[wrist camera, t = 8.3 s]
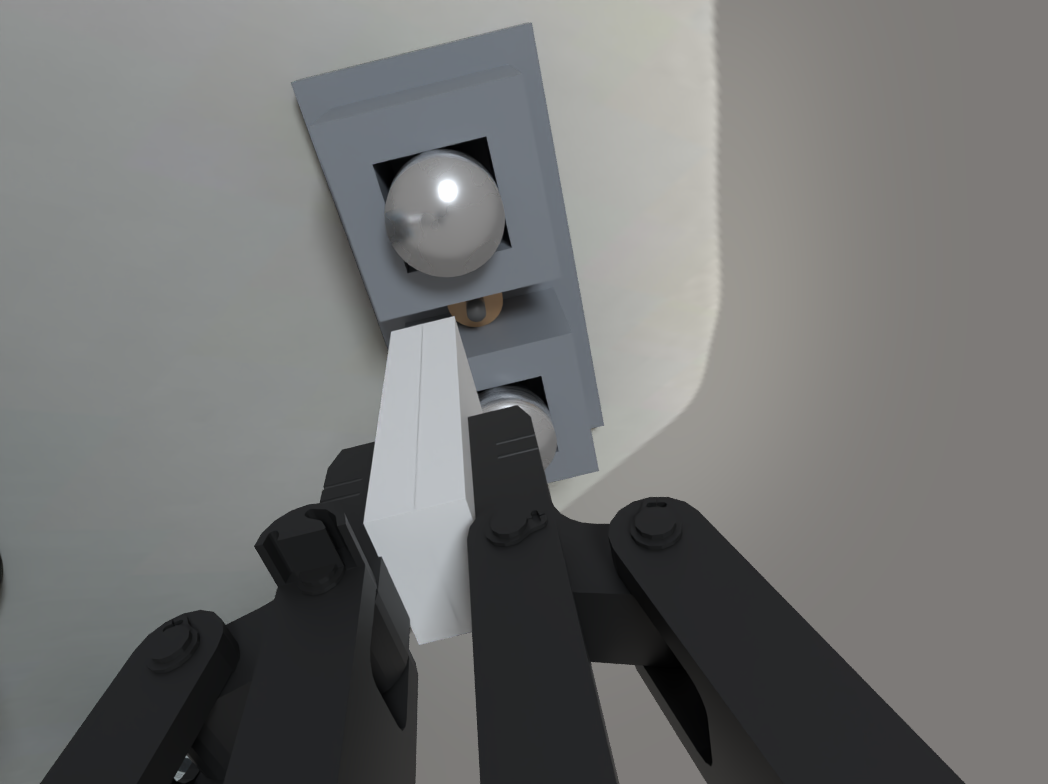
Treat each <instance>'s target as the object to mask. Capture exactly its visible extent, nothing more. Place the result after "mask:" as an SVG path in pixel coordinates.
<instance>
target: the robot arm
mask: <svg viewBox="0 0 1048 784" xmlns="http://www.w3.org/2000/svg"><path fill="white" fill-rule="evenodd" d="M254 547H255V549H256V550H257V552H258V554H259V555H260V557H261V559H262V561H263V562H264V564H265V566H266V567H267V569H268V571H269V572H270V574H271V576H272V577H273V579H274V581H275V583H276V584H277V586H278V588H277V592H276V595H275V599H274V600H273V601H271V602H269V603H268V604H266V605H264V606H263V607H261V608H259V609H257V610H255V611H253V612H251V613H249V614H247V615H245V616H243V617H241V618H239V619H237V620H235V621H233V622H231V623H229V624H227V625H225V624H224V622H223V621H222V619H221V618H220V617H219V616H217V615H216V614H215V613H214V612H211V611H204V610H198V611H193V612H189V613H184V614H182V615H180V616H178V617H176V618H173V619H171V620H169V621H167V622H165V623H164V624H163V625H161V626H160V627H159V628H157V629H156V630H155V631H153V632H152V633H151V634H149V635H148V636H147V637H146V638H145V639H144V641H143V642H142V643H141V644H140V645H139V646H138V647H137V648H136V649H135V651H134V652H133V653H132V655H131V656H130V658H129V659H128V660H127V662H126V663H125V665H124V666H123V667H122V669H121V670H120V672H119V673H118V674H117V676H116V677H115V679H114V680H113V681H112V683H111V684H110V686H109V687H108V689H107V690H106V691H105V693H104V694H103V696H102V697H101V698H100V700H99V701H98V703H97V704H96V705H95V707H94V708H93V710H92V711H91V712H90V714H89V715H88V717H87V718H86V720H85V721H84V722H83V724H82V725H81V727H80V728H79V729H78V731H77V732H76V734H75V735H74V736H73V738H72V739H71V741H70V742H69V743H68V745H67V746H66V748H65V749H64V751H63V752H62V753H61V755H60V756H59V758H58V759H57V760H56V762H55V763H54V765H53V766H52V767H51V769H50V770H49V772H48V773H47V774H46V776H45V777H44V779H43V780H42V782H41V783H40V784H415V776H416V738H417V737H416V736H417V698H418V672H417V668H416V663H415V661H414V659H413V657H412V654H411V652H410V650H409V633H410V626H411V628H412V631H413V633H414V635H415V637H416V639H417V641H418V644H419V645H421V644H425V643H429V642H434V641H438V640H442V639H446V638H450V637H454V636H458V635H462V634H466V633H471V632H472V637H473V638H472V639H473V657H474V674H475V692H476V711H477V730H478V748H479V767H480V784H619V781H618V776H617V772H616V768H615V764H614V759H613V755H612V751H611V747H610V743H609V738H608V734H607V730H606V726H605V721H604V718H603V713H602V709H601V705H600V700H599V696H598V692H597V688H596V683H595V679H594V675H593V671H592V666H591V662H601V663H614V664H629V665H635V666H636V669H637V671H638V673H639V674H640V676H641V677H642V679H643V681H644V682H645V684H646V685H647V687H648V689H649V690H650V692H651V694H652V695H653V697H654V698H655V700H656V702H657V703H658V705H659V706H660V708H661V710H662V711H663V713H664V715H665V716H666V718H667V719H668V721H669V723H670V724H671V726H672V727H673V729H674V731H675V732H676V734H677V736H678V737H679V739H680V740H681V742H682V744H683V745H684V747H685V748H686V750H687V752H688V753H689V755H690V756H691V758H692V760H693V761H694V763H695V764H696V766H697V768H698V769H699V771H700V773H701V774H702V776H703V777H704V779H705V781H706V782H707V784H965V783H964V782H963V781H962V780H961V779H960V778H959V777H958V776H957V775H956V774H955V773H954V772H953V771H952V769H950V767H948V765H946V763H945V762H944V761H942V759H941V758H940V757H939V756H938V755H937V754H936V753H935V752H934V751H933V750H932V749H931V748H930V747H929V746H928V745H927V744H926V743H925V742H924V741H923V740H922V739H921V738H920V737H919V736H918V735H917V734H916V733H915V732H914V731H913V730H912V729H911V728H910V727H909V726H908V725H907V724H906V722H904V721H903V719H902V718H901V717H900V716H899V715H898V714H897V713H896V712H894V710H893V709H892V708H891V707H890V706H889V705H888V704H887V703H886V702H885V701H884V700H883V699H882V698H881V697H880V696H879V695H878V694H877V693H876V692H875V691H874V690H873V689H872V688H871V687H870V686H869V685H868V684H867V683H866V682H865V681H864V680H863V679H862V678H861V677H860V676H859V675H858V674H857V672H856V671H855V670H854V669H852V667H851V666H850V665H849V664H848V663H847V662H846V661H845V660H844V659H843V658H842V657H841V656H840V655H839V654H838V653H837V652H836V651H835V650H834V649H833V648H832V647H831V646H830V645H829V644H828V643H827V642H826V641H825V640H824V639H823V638H822V637H821V636H820V635H819V634H818V633H817V632H816V631H815V630H814V629H813V628H812V627H811V626H810V624H809V623H808V622H807V621H806V620H805V619H804V618H803V617H802V616H801V615H800V614H799V613H798V612H797V611H796V610H795V609H794V608H793V607H792V606H791V605H790V604H789V603H788V602H787V601H786V600H785V599H784V598H783V597H782V596H781V595H780V594H779V593H778V592H777V591H776V590H775V589H774V588H773V587H772V586H771V585H770V584H769V583H768V582H767V581H766V579H764V577H763V576H761V574H760V573H759V572H758V571H757V570H756V569H755V568H754V567H753V566H752V565H751V564H750V563H749V562H748V561H747V560H746V559H745V558H744V557H743V556H742V555H741V554H740V553H739V552H738V551H737V550H736V549H735V548H734V547H733V546H732V545H731V544H730V543H729V542H728V541H727V540H726V539H725V538H724V537H723V536H722V535H721V534H720V533H719V532H718V531H717V529H716V528H715V527H713V525H712V524H711V523H710V522H709V521H708V520H707V519H706V518H705V517H704V516H703V515H702V514H701V513H700V512H699V511H698V510H696V509H695V508H693V507H692V506H690V505H689V504H688V503H686V502H684V501H680V500H677V499H673V498H670V497H649V498H645V499H642V500H638V501H634V502H632V503H630V504H629V505H627V506H626V507H624V508H622V509H621V510H619V511H618V513H617V514H616V515H615V517H614V518H613V519H612V521H611V522H610V524H591V523H581V522H578V521H575V520H572V519H569V518H568V517H566V516H564V515H562V514H561V513H560V512H559V511H558V510H557V509H556V508H555V507H554V505H553V503H552V500H551V496H550V492H549V488H548V483H547V479H546V475H545V471H544V467H543V463H542V459H541V455H540V451H539V447H538V443H537V439H536V435H535V431H534V427H533V423H532V419H531V416H530V415H529V414H527V413H526V412H525V411H524V410H523V409H521V408H520V407H519V406H518V405H515V406H511V407H507V408H503V409H499V410H495V411H490V412H486V413H483V411H482V408H481V405H480V401H479V398H478V394H477V391H476V388H475V384H474V381H473V377H472V374H471V371H470V367H469V364H468V360H467V357H466V354H465V350H464V347H463V343H462V340H461V337H460V333H459V330H458V326H457V323H456V320H455V316H453V317H449V318H444V319H440V320H436V321H432V322H428V323H424V324H420V325H416V326H412V327H408V328H404V329H400V330H396V331H392V332H391V337H390V344H389V351H388V357H387V364H386V371H385V378H384V385H383V392H382V398H381V405H380V412H379V419H378V426H377V433H376V440H375V442H372V443H368V444H364V445H360V446H356V447H352V448H348V449H343V450H342V451H341V452H340V453H339V455H338V456H337V457H336V458H335V460H334V461H333V462H332V464H331V465H330V466H329V468H328V470H327V474H326V479H325V483H324V490H323V491H322V495H321V499H320V503H318V504H309V505H306V506H303V507H300V508H297V509H295V510H292V511H290V512H288V513H287V514H285V515H283V516H282V517H280V518H278V519H277V520H275V521H274V522H273V523H272V524H271V525H270V526H269V527H268V528H267V529H266V530H265V531H264V532H263V533H262V534H261V535H260V537H259V539H258V541H257V542H256V544H255V546H254ZM0 580H1V563H0ZM186 755H187V757H188V758H189V759H190V760H191V761H192V763H191V765H190V767H189V769H188V770H187V771H186V772H185V774H184V775H183V776H182V778H181V779H180V780H178V781H176V780H175V779H174V777H175V775H176V773H177V772H178V770H179V768H180V766H181V764H182V763H183V761H184V759H185V757H186Z"/></svg>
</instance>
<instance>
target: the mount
mask: <svg viewBox="0 0 1048 784" xmlns="http://www.w3.org/2000/svg"><path fill="white" fill-rule="evenodd" d="M291 85H292V87H293V90H294V93H295V96H296V98H297V101H298V104H299V107H300V109H301V112H302V115H303V118H304V120H305V123H306V126H307V129H308V131H309V134H310V137H311V140H312V142H313V145H314V148H315V151H316V153H317V156H318V159H319V162H320V164H321V167H322V170H323V173H324V175H325V178H326V181H327V184H328V186H329V189H330V192H331V195H332V197H333V200H334V203H335V206H336V208H337V211H338V214H339V217H340V219H341V222H342V225H343V228H344V230H345V233H346V236H347V239H348V241H349V244H350V247H351V250H352V252H353V255H354V258H355V261H356V263H357V266H358V269H359V272H360V274H361V277H362V280H363V283H364V285H365V288H366V291H367V293H368V296H369V299H370V302H371V304H372V307H373V310H374V313H375V315H376V318H377V321H378V324H379V326H380V329H381V332H382V335H383V337H384V340H385V343H386V346H387V348H388V351H389V344H390V337H391V332H392V331H396V330H400V329H404V328H408V327H412V326H416V325H420V324H424V323H428V322H432V321H436V320H440V319H444V318H449V317H453V316H455V320H456V323H457V326H458V330H459V333H460V337H461V340H462V343H463V347H464V350H465V354H466V357H467V360H468V364H469V367H470V371H471V374H472V377H473V381H474V384H475V388H476V391H481V390H485V389H489V388H493V387H497V386H501V385H505V384H510V383H514V382H518V381H522V380H526V379H528V380H529V384H530V388H531V392H533V393H535V394H536V395H537V396H539V397H540V398H541V399H542V400H543V401H544V403H545V404H546V406H547V408H548V410H549V412H550V416H551V419H552V423H553V427H554V430H555V434H556V439H557V447H556V452H555V455H554V458H553V460H552V462H551V463H550V465H549V466H548V467H547V468H546V469H545V470H544V471H545V475H546V479H547V483H550V482H555V481H559V480H563V479H567V478H571V477H575V476H580V475H584V474H588V473H592V472H596V471H599V469H598V464H597V459H596V453H595V448H594V443H593V438H592V433H591V428H595V427H600V426H604V423H603V417H602V412H601V406H600V400H599V395H598V389H597V384H596V378H595V373H594V367H593V361H592V356H591V350H590V345H589V339H588V333H587V328H586V322H585V317H584V311H583V306H582V300H581V294H580V289H579V283H578V278H577V272H576V267H575V261H574V255H573V250H572V244H571V239H570V233H569V228H568V222H567V216H566V211H565V205H564V200H563V194H562V188H561V183H560V177H559V172H558V166H557V161H556V155H555V149H554V144H553V138H552V133H551V127H550V122H549V116H548V110H547V105H546V99H545V94H544V88H543V83H542V77H541V71H540V66H539V60H538V55H537V49H536V43H535V38H534V32H533V27H532V23H524V24H520V25H516V26H512V27H508V28H504V29H500V30H496V31H492V32H488V33H484V34H480V35H476V36H472V37H468V38H464V39H460V40H456V41H452V42H448V43H444V44H440V45H436V46H432V47H428V48H424V49H420V50H416V51H412V52H408V53H404V54H400V55H396V56H392V57H388V58H384V59H380V60H376V61H372V62H368V63H364V64H360V65H356V66H352V67H348V68H344V69H340V70H336V71H332V72H328V73H324V74H320V75H316V76H311V77H307V78H303V79H299V80H296V81H294V82H291ZM449 145H456V146H458V147H460V148H462V149H463V150H465V151H466V152H467V153H468V154H469V155H470V156H471V157H473V158H475V159H476V160H477V161H479V162H480V163H481V164H482V165H483V166H484V167H485V168H486V169H487V170H488V171H489V173H490V174H491V176H492V177H493V179H494V181H495V183H496V185H497V187H498V190H499V193H500V196H501V199H502V203H503V206H504V212H505V226H504V232H503V236H502V239H501V241H500V244H499V246H498V248H497V250H496V251H495V252H494V254H493V255H492V257H491V258H490V259H489V260H488V261H487V262H486V263H484V264H483V265H482V266H481V267H479V268H477V269H476V270H474V271H472V272H470V273H467V274H464V275H461V276H456V277H437V276H432V275H429V274H426V273H423V272H421V271H419V270H417V269H415V268H413V267H412V266H410V265H409V264H408V263H407V262H405V261H404V260H403V259H402V258H401V257H400V256H399V254H398V253H397V252H396V250H395V249H394V247H393V246H392V244H391V242H390V240H389V237H388V235H387V231H386V227H385V219H384V211H385V204H386V200H387V197H388V193H389V190H390V187H391V184H392V182H393V179H394V177H395V176H396V174H397V172H398V171H399V170H400V169H401V167H402V166H403V165H404V164H405V163H406V162H407V161H409V160H410V159H412V158H413V157H414V156H416V155H418V154H419V153H421V152H425V151H429V150H433V149H437V148H441V147H445V146H449Z"/></svg>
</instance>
